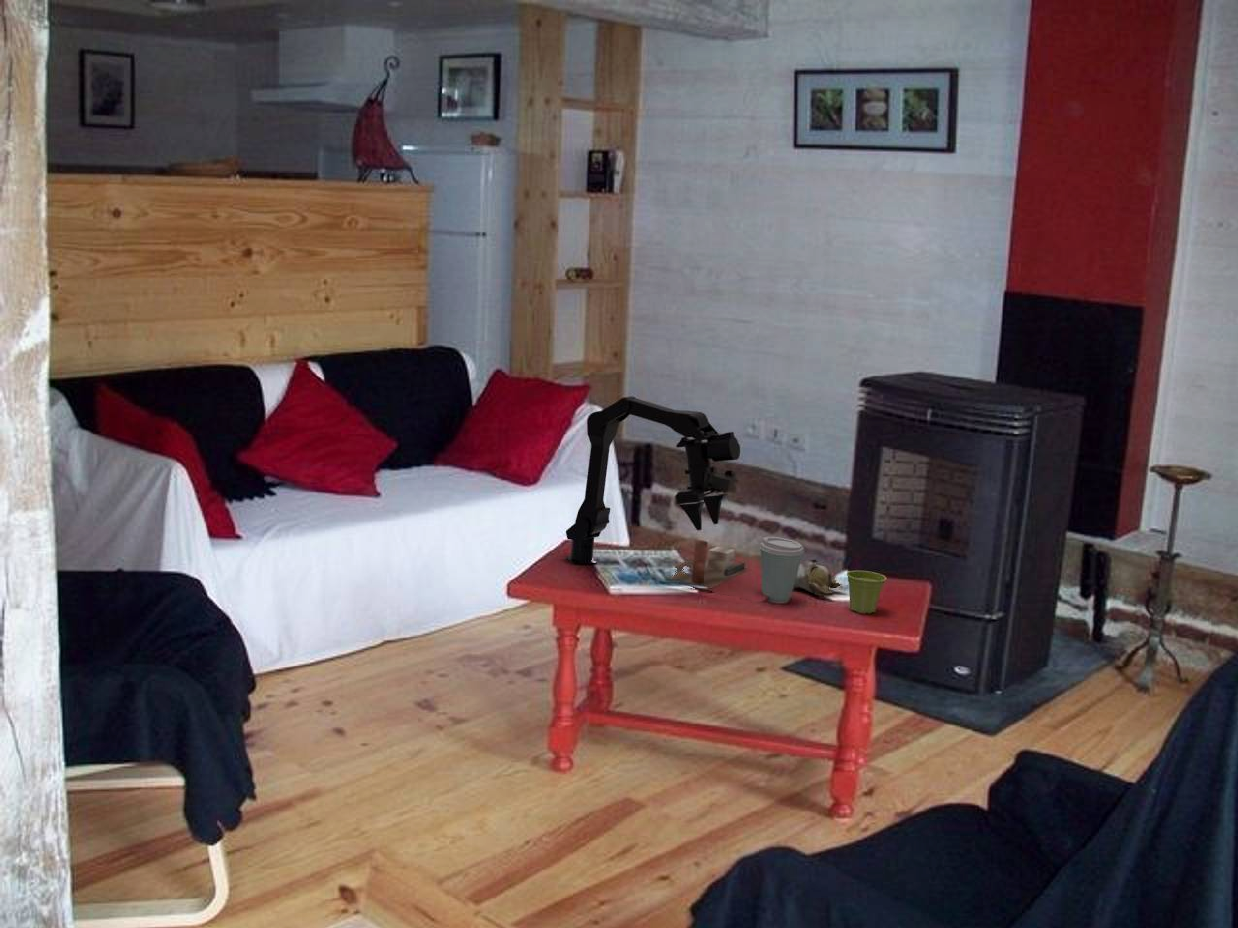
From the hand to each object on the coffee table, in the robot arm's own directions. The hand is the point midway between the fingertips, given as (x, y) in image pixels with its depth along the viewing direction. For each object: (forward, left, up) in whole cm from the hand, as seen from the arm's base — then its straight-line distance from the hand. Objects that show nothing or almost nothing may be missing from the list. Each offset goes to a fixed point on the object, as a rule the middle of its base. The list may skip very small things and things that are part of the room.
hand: (707, 527), depth 349 cm
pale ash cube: (-11, +10, -14) cm, 21 cm away
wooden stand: (-9, +4, -15) cm, 18 cm away
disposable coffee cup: (+12, +15, -16) cm, 24 cm away
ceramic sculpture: (+6, +28, -16) cm, 32 cm away
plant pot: (+22, +33, -16) cm, 42 cm away
